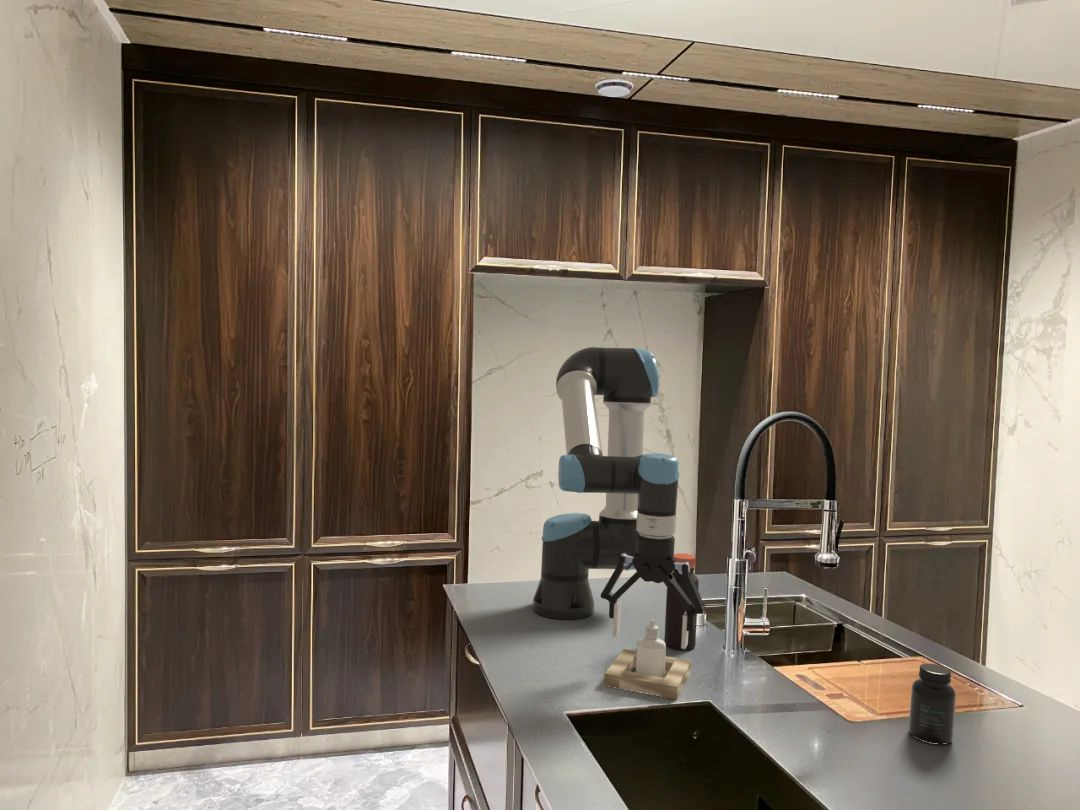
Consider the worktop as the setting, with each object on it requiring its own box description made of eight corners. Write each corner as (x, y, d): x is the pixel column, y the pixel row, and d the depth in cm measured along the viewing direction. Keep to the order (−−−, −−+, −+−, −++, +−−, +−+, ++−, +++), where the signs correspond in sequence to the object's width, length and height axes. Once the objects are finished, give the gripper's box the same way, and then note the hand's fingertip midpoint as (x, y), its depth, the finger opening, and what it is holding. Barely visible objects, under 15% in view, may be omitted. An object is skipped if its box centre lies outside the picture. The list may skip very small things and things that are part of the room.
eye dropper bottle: (655, 687, 156) (658, 626, 155) (631, 678, 159) (634, 619, 158) (668, 680, 159) (670, 621, 158) (644, 672, 163) (646, 614, 162)
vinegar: (693, 641, 181) (698, 553, 180) (696, 652, 174) (701, 561, 173) (663, 638, 182) (667, 551, 180) (664, 650, 175) (669, 559, 174)
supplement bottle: (914, 723, 144) (919, 657, 143) (956, 736, 140) (961, 668, 139) (903, 736, 139) (908, 668, 138) (946, 750, 135) (952, 680, 134)
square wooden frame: (623, 660, 168) (623, 648, 168) (690, 672, 163) (691, 660, 163) (604, 686, 155) (604, 673, 155) (676, 700, 150) (677, 687, 150)
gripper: (588, 530, 158) (583, 635, 160) (717, 547, 149) (710, 658, 151) (599, 522, 165) (594, 623, 167) (723, 537, 156) (717, 644, 158)
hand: (649, 640), depth 159 cm, fingers open, 13 cm apart
